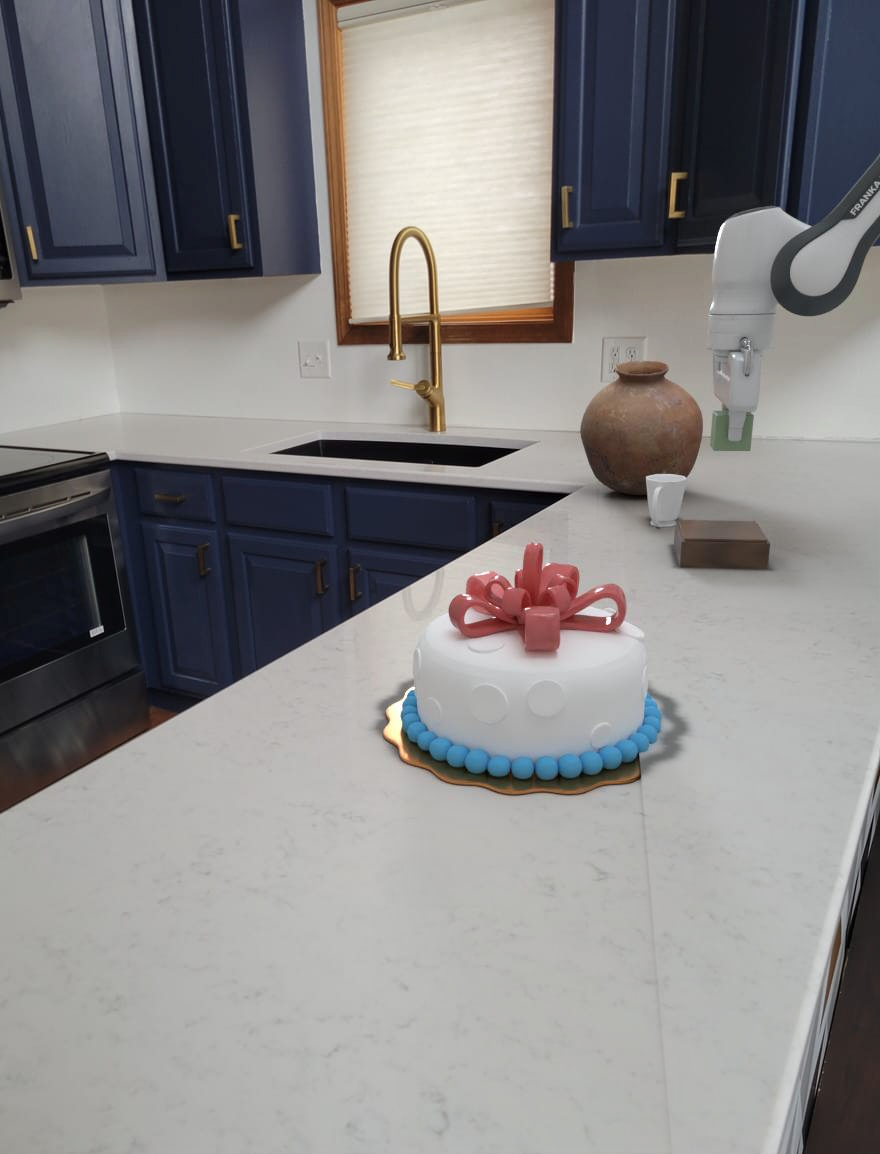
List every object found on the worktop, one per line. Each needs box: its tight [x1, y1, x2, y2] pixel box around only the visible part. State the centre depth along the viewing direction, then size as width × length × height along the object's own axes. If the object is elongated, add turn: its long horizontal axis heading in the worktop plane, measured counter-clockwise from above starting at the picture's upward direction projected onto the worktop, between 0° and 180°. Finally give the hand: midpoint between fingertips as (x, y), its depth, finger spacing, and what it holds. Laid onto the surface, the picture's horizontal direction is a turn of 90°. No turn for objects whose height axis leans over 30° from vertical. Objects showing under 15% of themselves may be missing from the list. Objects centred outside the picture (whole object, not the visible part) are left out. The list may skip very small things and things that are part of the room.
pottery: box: [579, 360, 704, 496], centre depth 185 cm, size 23×23×25 cm
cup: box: [646, 474, 688, 529], centre depth 162 cm, size 7×10×8 cm
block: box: [709, 410, 755, 452], centre depth 137 cm, size 5×5×5 cm
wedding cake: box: [382, 541, 663, 795], centre depth 89 cm, size 28×28×18 cm
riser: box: [672, 519, 771, 570], centre depth 141 cm, size 12×12×5 cm
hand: (730, 436), depth 137 cm, fingers closed on block, 5 cm apart
